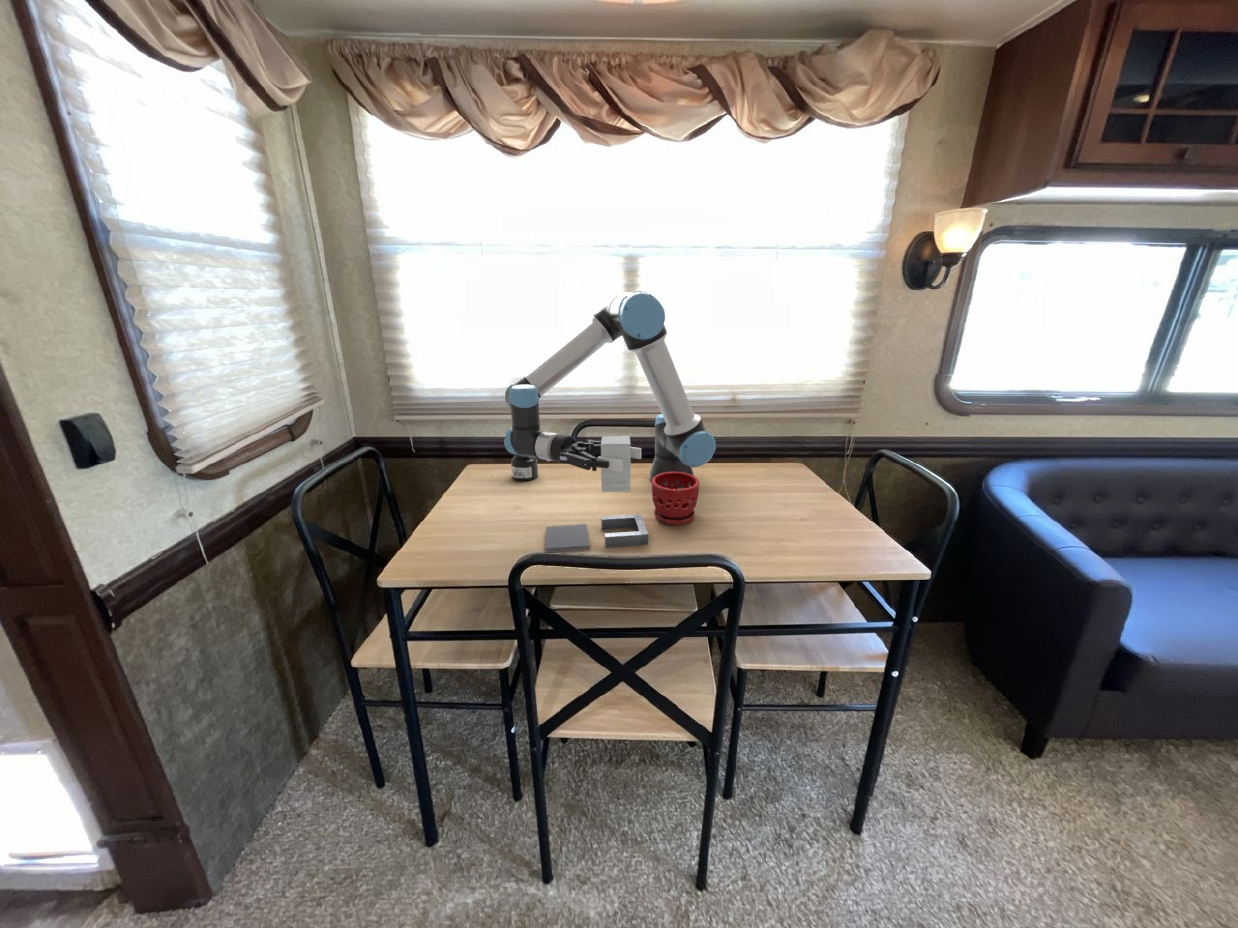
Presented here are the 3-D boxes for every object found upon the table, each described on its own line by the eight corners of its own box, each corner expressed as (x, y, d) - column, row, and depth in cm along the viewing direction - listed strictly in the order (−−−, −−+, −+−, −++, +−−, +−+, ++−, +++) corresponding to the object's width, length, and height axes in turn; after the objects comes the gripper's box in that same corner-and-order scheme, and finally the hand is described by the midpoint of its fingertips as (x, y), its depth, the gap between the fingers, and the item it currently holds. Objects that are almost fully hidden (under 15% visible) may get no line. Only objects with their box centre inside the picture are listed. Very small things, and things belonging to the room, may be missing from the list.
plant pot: (643, 513, 143) (643, 475, 139) (682, 505, 148) (684, 468, 144) (664, 532, 132) (665, 491, 128) (706, 523, 137) (708, 483, 133)
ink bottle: (506, 478, 171) (503, 445, 167) (522, 470, 178) (519, 439, 174) (528, 483, 167) (526, 449, 163) (544, 475, 174) (542, 442, 170)
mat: (586, 527, 135) (586, 524, 135) (589, 548, 124) (589, 545, 124) (546, 529, 134) (546, 526, 134) (545, 551, 123) (545, 548, 123)
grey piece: (640, 523, 137) (640, 514, 136) (648, 544, 126) (648, 534, 125) (601, 526, 136) (601, 516, 135) (605, 547, 125) (605, 537, 124)
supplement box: (630, 492, 122) (630, 443, 118) (601, 492, 122) (599, 444, 118) (630, 481, 129) (630, 435, 125) (602, 481, 129) (601, 435, 125)
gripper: (579, 449, 142) (650, 460, 132) (531, 473, 123) (610, 489, 113) (578, 424, 139) (650, 433, 129) (529, 445, 121) (609, 458, 111)
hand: (631, 459), depth 121 cm, fingers closed on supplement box, 9 cm apart
